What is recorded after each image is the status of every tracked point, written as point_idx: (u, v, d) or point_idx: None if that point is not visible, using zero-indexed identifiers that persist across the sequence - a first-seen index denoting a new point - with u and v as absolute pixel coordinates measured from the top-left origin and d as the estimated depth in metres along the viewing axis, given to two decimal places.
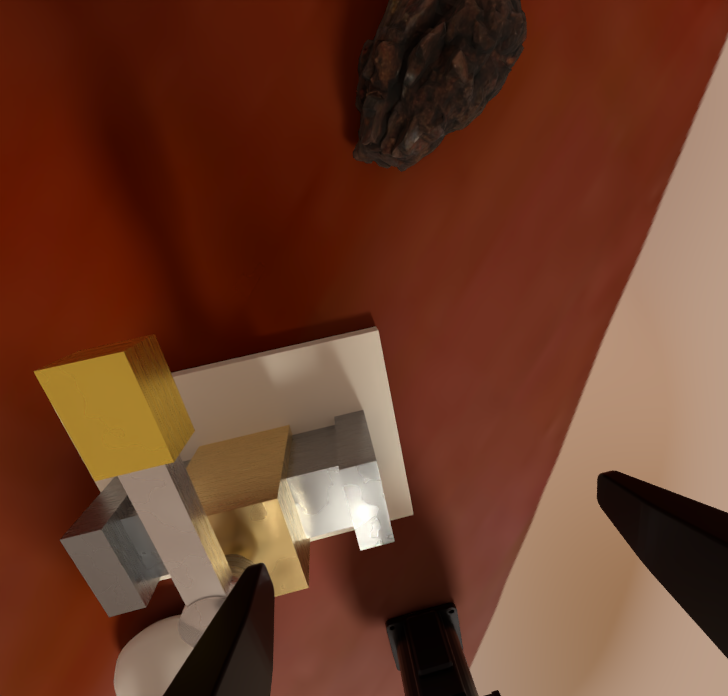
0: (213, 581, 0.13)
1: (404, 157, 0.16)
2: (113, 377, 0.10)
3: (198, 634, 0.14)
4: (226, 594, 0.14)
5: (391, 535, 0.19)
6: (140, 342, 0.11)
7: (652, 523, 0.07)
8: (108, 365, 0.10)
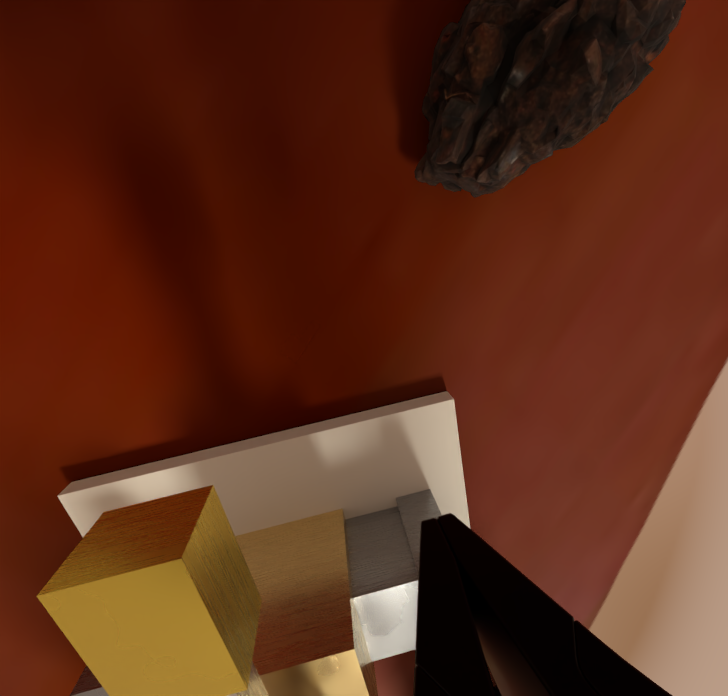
0: None
1: (490, 182, 0.12)
2: (163, 593, 0.06)
3: None
4: None
5: None
6: (198, 517, 0.07)
7: (460, 575, 0.07)
8: (155, 578, 0.06)
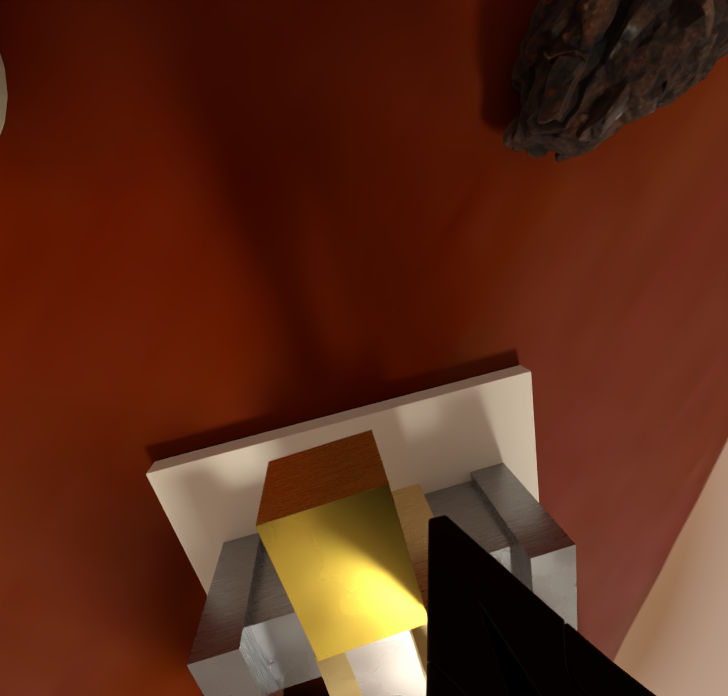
0: None
1: (589, 140, 0.13)
2: (367, 521, 0.07)
3: None
4: None
5: (575, 627, 0.16)
6: (378, 453, 0.07)
7: None
8: (363, 505, 0.07)
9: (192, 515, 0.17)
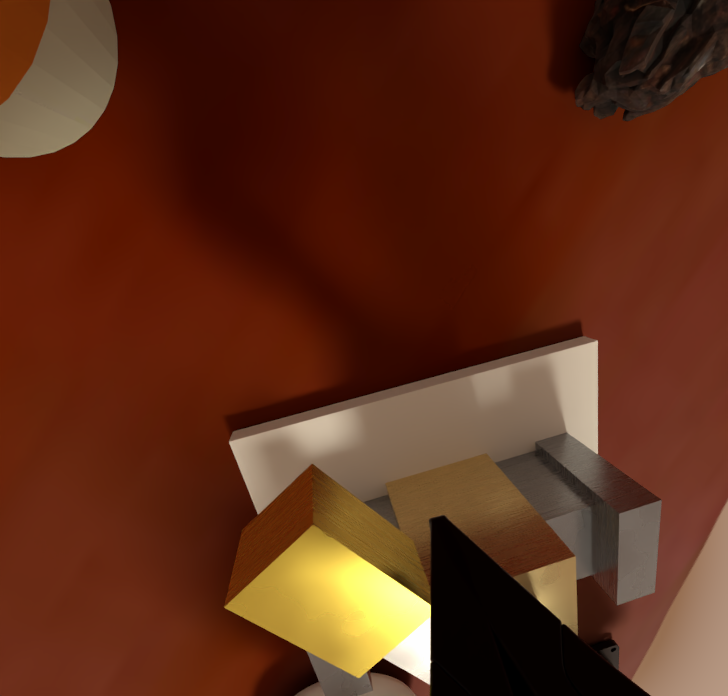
0: None
1: (667, 93, 0.13)
2: (317, 560, 0.07)
3: None
4: None
5: (653, 585, 0.16)
6: (312, 490, 0.08)
7: None
8: (303, 551, 0.07)
9: (270, 484, 0.18)
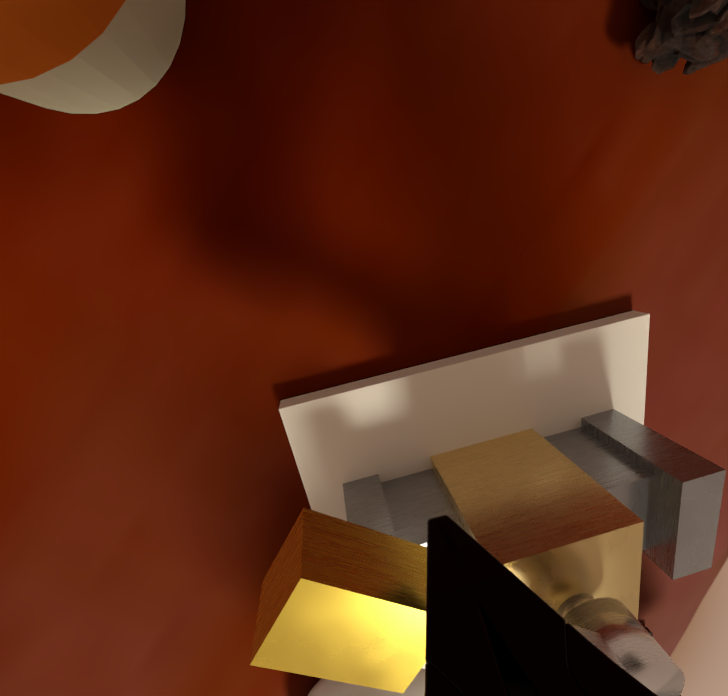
0: None
1: None
2: (319, 606, 0.07)
3: None
4: (622, 666, 0.10)
5: (710, 560, 0.16)
6: (302, 538, 0.08)
7: None
8: (302, 602, 0.07)
9: (317, 454, 0.18)
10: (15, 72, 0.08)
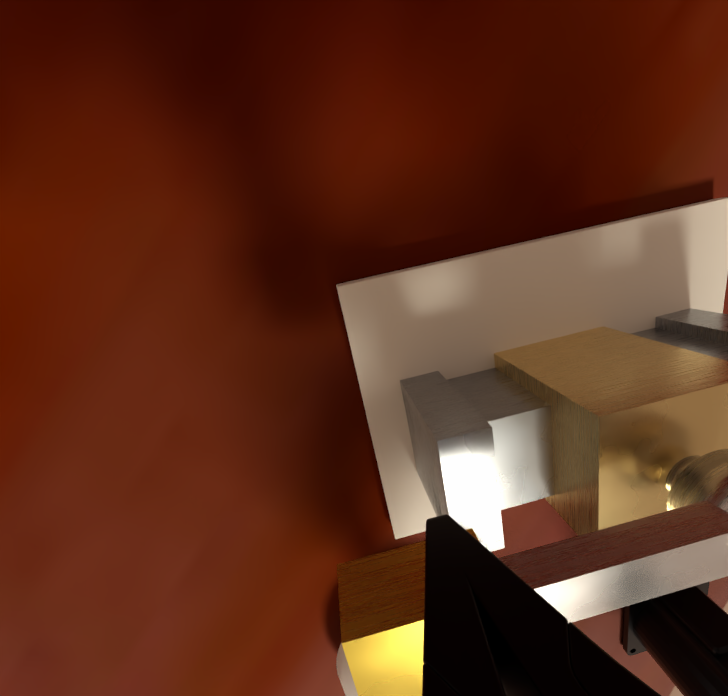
0: (713, 543, 0.09)
1: None
2: (376, 652, 0.08)
3: None
4: None
5: None
6: (339, 599, 0.09)
7: None
8: (360, 656, 0.08)
9: (374, 343, 0.16)
10: None
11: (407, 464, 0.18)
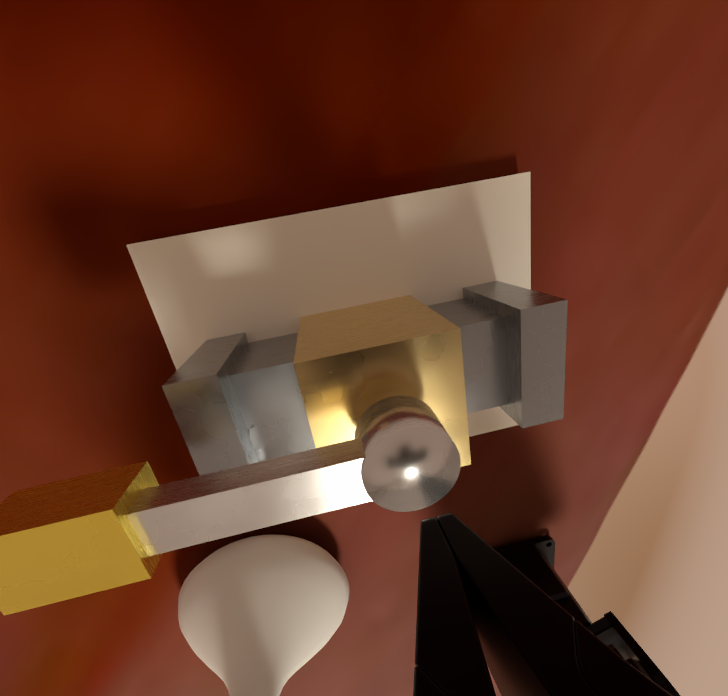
0: (332, 471, 0.10)
1: None
2: None
3: (422, 491, 0.10)
4: (362, 457, 0.10)
5: (561, 409, 0.15)
6: None
7: (460, 575, 0.07)
8: None
9: (174, 302, 0.17)
10: None
11: None
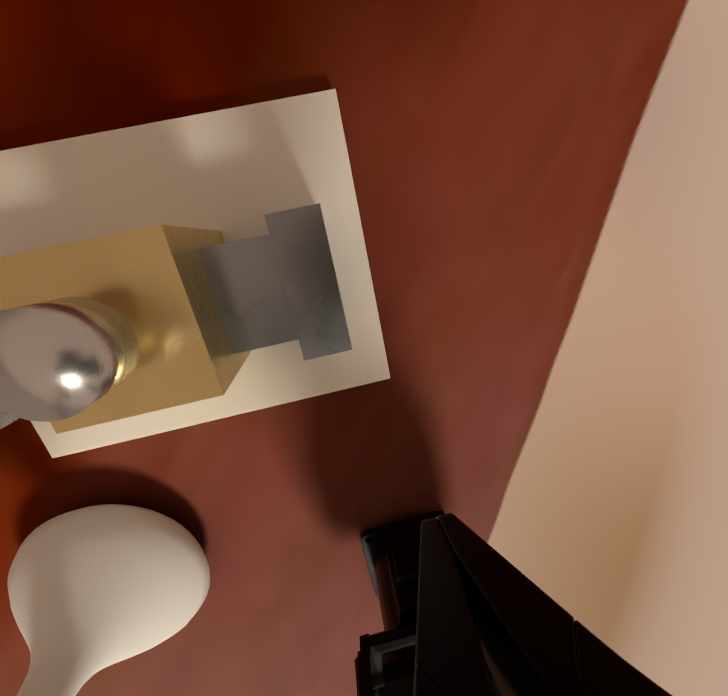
0: None
1: None
2: None
3: (58, 395, 0.09)
4: None
5: (347, 338, 0.14)
6: None
7: (460, 576, 0.07)
8: None
9: None
10: None
11: None
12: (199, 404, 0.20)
